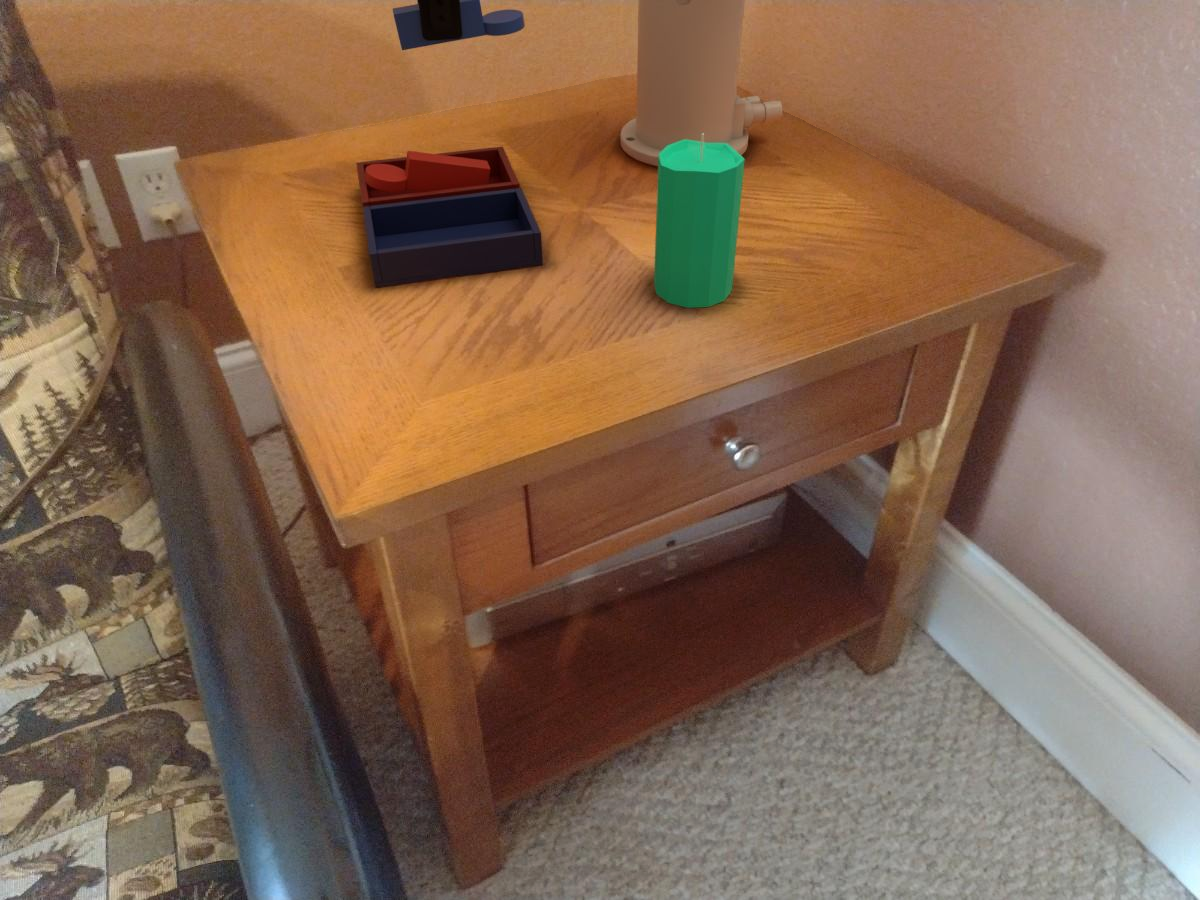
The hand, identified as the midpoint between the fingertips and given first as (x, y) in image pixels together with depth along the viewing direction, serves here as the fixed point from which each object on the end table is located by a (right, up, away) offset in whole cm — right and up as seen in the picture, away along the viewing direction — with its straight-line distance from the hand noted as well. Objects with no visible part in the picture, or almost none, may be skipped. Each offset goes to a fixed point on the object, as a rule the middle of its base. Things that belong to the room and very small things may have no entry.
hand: (441, 32), depth 75 cm
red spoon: (-2, -12, +5) cm, 13 cm away
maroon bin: (-1, -13, +6) cm, 14 cm away
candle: (+20, -22, -5) cm, 30 cm away
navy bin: (+1, -18, -1) cm, 18 cm away
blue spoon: (+2, 0, +1) cm, 2 cm away
